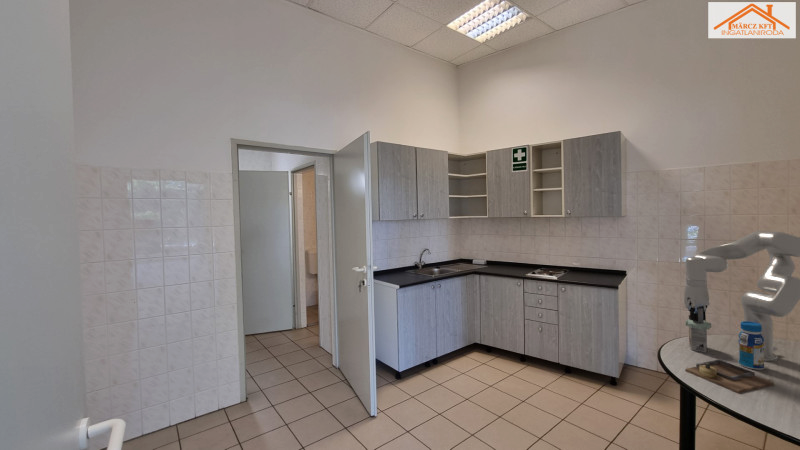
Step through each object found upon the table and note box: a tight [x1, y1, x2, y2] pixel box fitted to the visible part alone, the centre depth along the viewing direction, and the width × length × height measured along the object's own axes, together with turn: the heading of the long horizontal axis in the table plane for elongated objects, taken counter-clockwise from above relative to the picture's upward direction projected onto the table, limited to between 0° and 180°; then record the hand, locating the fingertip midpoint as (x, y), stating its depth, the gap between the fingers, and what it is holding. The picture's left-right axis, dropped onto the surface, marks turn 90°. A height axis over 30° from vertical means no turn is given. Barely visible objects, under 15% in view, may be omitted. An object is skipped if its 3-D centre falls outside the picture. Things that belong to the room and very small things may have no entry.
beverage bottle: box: [737, 320, 765, 371], centre depth 156 cm, size 8×8×20 cm
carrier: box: [685, 359, 775, 394], centre depth 147 cm, size 20×20×6 cm
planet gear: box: [684, 307, 712, 331], centre depth 165 cm, size 9×9×9 cm
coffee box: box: [688, 314, 708, 353], centre depth 177 cm, size 9×6×16 cm
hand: (697, 319), depth 165 cm, fingers closed on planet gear, 4 cm apart
